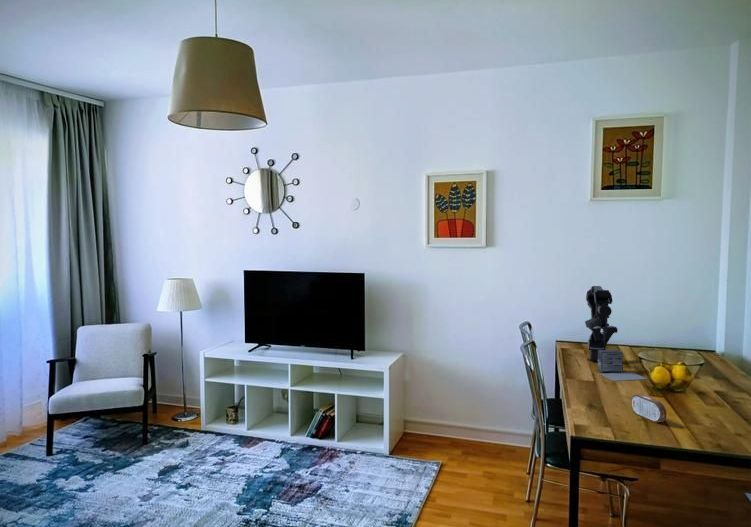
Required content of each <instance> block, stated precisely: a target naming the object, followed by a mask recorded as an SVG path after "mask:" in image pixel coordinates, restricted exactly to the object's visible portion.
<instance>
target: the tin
mask: <svg viewBox="0 0 751 527" xmlns="http://www.w3.org/2000/svg"><path fill="white" fill-rule="evenodd" d="M630 405H631V409H632V410H633V412H634V413H635V414H636V415H637V416H639V417H641V418H644V419H646V420H647V421H651V423H662V422H664V421H665V420H666V419H667V409H666V407H665V405H664V404H663V402H662V401H661V400H659V399H656V398H655V397H651V396H650V395H649V396H648V395H646V394H645V393H638V394H637V393H636V394H634V395H632V396H631V398H630Z"/></svg>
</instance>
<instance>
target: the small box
mask: <svg viewBox="0 0 751 527" xmlns="http://www.w3.org/2000/svg"><path fill="white" fill-rule="evenodd" d="M623 354H624V353H623V351H620V350H618V349H606V350H598V362H597V370H598V371H599V372H601V373H624V371H623V369H624V367H623V366H624V363H623V362H624V361H623V360H624V359H623V358H624V357H623Z"/></svg>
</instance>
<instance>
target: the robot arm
mask: <svg viewBox="0 0 751 527" xmlns="http://www.w3.org/2000/svg"><path fill="white" fill-rule="evenodd" d="M612 296H613V295H612V293H611V291H610V290H608V289H603V288H602V286H601V285H592V286H591V287H590V289H589V290H587V292H586V295H585V300H586V301H585V302H586V303H587V306H588V307H589V308H590V319H588V320H585V321H584V324H585V327H586V328H588V329H589V330H590V331H591V334H590V335H589V338H588V340H587V350H588V351H589V358H587V360H588V361H590V362H592V363H598V350H607V349H606V348H607V344H608V343H609V340H610V339H611V338H612V336H613V335H614V334H617V333H618V332H619V331H618V328H617V327H616V326H614V325H610V323H608V319H609V318H610V316H611V314H612V312H613V311H612V308H611V307H610V306H609V305H612V304H613V297H612ZM601 330H602V331H601Z"/></svg>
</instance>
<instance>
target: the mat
mask: <svg viewBox="0 0 751 527" xmlns="http://www.w3.org/2000/svg"><path fill="white" fill-rule="evenodd" d="M601 375H602V377H604V378H605V379H608V380H611V381H613V382H624V381H625V382H626V380H629V381H645V380H648V378H646V377H644V376H641V375H639V374H638V373H637V374H636V373H634V372H632V371H630V372H628V371H627V372H623V373H620V372H605V373H599V376H601Z"/></svg>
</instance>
